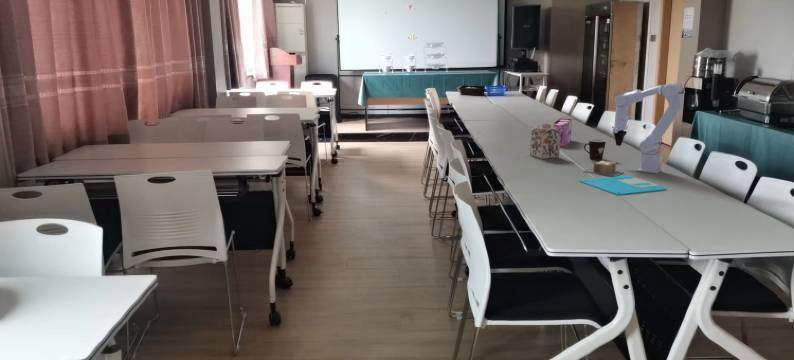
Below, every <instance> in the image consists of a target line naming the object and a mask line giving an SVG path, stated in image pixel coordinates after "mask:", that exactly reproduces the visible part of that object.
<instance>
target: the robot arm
mask: <svg viewBox="0 0 794 360" xmlns="http://www.w3.org/2000/svg"><path fill="white" fill-rule="evenodd" d="M685 93H686V91H685V88H684V86H683V85H682V84H681V83H679V82H675V83H667V84H660V85H657V86H653V87H651V88H647V89H646V90H641V89H637V88H635V89H633V91H630V92H628V91H627V92H624V94H618V95H617V96H615V97H614V102H613V103H614V104H615V116H614V126H611V128H612V134H613V136H614V140H615V145H616V146H619V147H621V146H622V144H623V141H624V138H625V136H626V135H627V132H628V131H627V130H628V114H629V113H628V112H629V106H630V105H631V104H635V103H639V102H642V101H643V100H644V99H645V98H647V97H650V96H655V95H658V94H659V95H661V96H663V97H664V99H665V100H666V102H667V103H668V107H667V108H666V110H665V111H664V113H663V114H662V116H661V117H660V120H659V121H658V123H657V124H656V125H655V126H654V128H653V130H652V132H651V133H650V134H649V135H647V137H645V139H644V140H642V141H641V142H640V143H639V150H640V152H641V153H640V162H639V163H640V165H639V168H638V169H636V172H637V171H638V172H645V173H650V174H658V173H660V172H662V165H663V164H662V163H663V155H662V154H661V153H658V151H659V150H660V148H661V144H662V142H663V137H664V136H665V133H666V132H667V130H668V129H669V128H670V126H671V125H672V123H673V121H674V120H675V119H676V117H677V115H678V114H679V113H680V111H681V110H682V108H683V104H684V95H685Z"/></svg>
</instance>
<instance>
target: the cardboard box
mask: <svg viewBox="0 0 794 360" xmlns="http://www.w3.org/2000/svg"><path fill="white" fill-rule="evenodd" d="M593 168H594V171H593V172H598V173H605V174H609V173H611V172H613V171H617V170H616V169H617V162H616V161H609V160H599V161H598V162H594V163H593Z"/></svg>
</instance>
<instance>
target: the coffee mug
mask: <svg viewBox="0 0 794 360" xmlns="http://www.w3.org/2000/svg"><path fill="white" fill-rule="evenodd" d="M606 142H607V140H605V139H599V138H591V139H589V140H588V143H585V144H584V147H583V149H584V151H585V152H586V153H587V154H589V160H592V161H603V157H604V153H605V148H606V147H605V146H606V144H607V143H606ZM587 145H588V146H589V147H588V148H589V149H588V150H589V151H588V150H587V149H586V146H587Z"/></svg>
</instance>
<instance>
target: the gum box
mask: <svg viewBox="0 0 794 360" xmlns="http://www.w3.org/2000/svg"><path fill="white" fill-rule="evenodd" d="M572 126H573V119H572V118H558V119H557V120H556V121H554V122H553V126H552V127H555V128H557V129H558V130H559V132H560V134H561V135H560V147H565V146H567V145H568V144H569V143H570V142H571V140H572V128H573V127H572Z"/></svg>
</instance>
